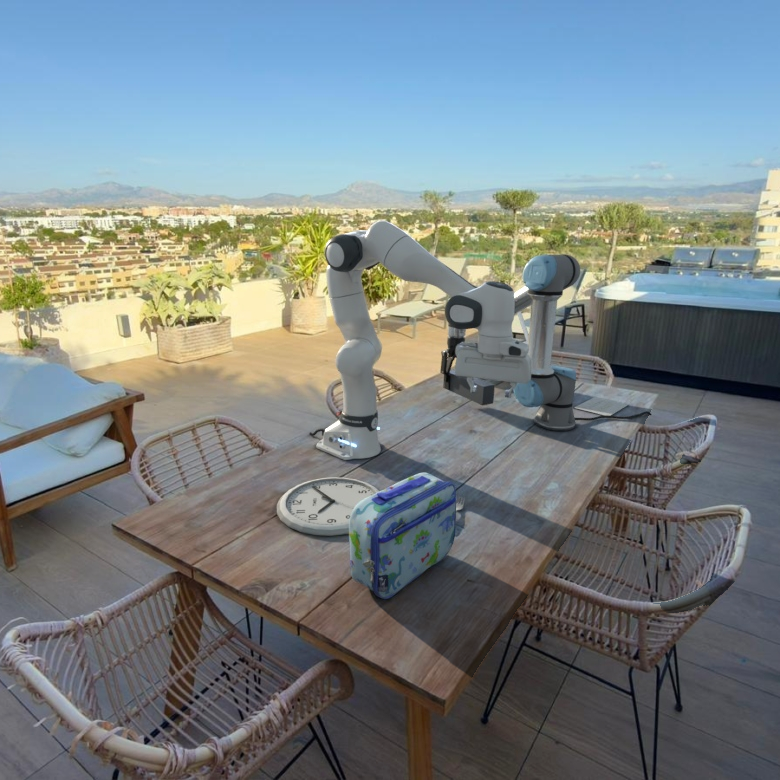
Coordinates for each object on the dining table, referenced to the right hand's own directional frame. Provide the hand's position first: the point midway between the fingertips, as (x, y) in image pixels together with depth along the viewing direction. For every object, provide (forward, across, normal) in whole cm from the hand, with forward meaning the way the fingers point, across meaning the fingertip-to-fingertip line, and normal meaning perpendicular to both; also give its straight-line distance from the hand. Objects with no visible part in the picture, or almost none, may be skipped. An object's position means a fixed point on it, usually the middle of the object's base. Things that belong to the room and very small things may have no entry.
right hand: (453, 387), depth 230 cm
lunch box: (+5, -83, -91) cm, 124 cm away
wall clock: (+5, -85, -57) cm, 103 cm away
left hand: (-25, -44, -72) cm, 88 cm away
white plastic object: (+6, +39, +9) cm, 40 cm away
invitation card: (+5, +52, -38) cm, 64 cm away
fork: (+5, -59, -78) cm, 98 cm away
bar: (+1, 0, -10) cm, 10 cm away
